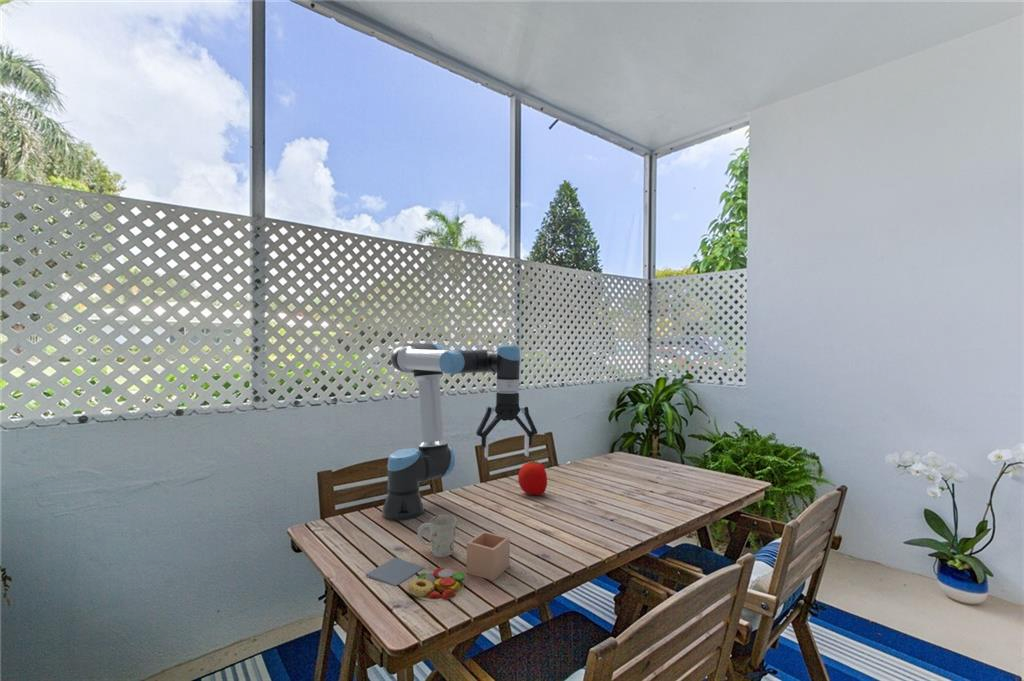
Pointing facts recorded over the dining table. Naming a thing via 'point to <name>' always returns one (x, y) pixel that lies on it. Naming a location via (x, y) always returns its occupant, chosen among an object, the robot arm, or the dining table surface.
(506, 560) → the planter
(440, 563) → the dining table surface
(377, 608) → the dining table surface
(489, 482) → the dining table surface
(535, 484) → the tomato
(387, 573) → the coaster
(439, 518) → the mug
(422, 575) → the toy food set
